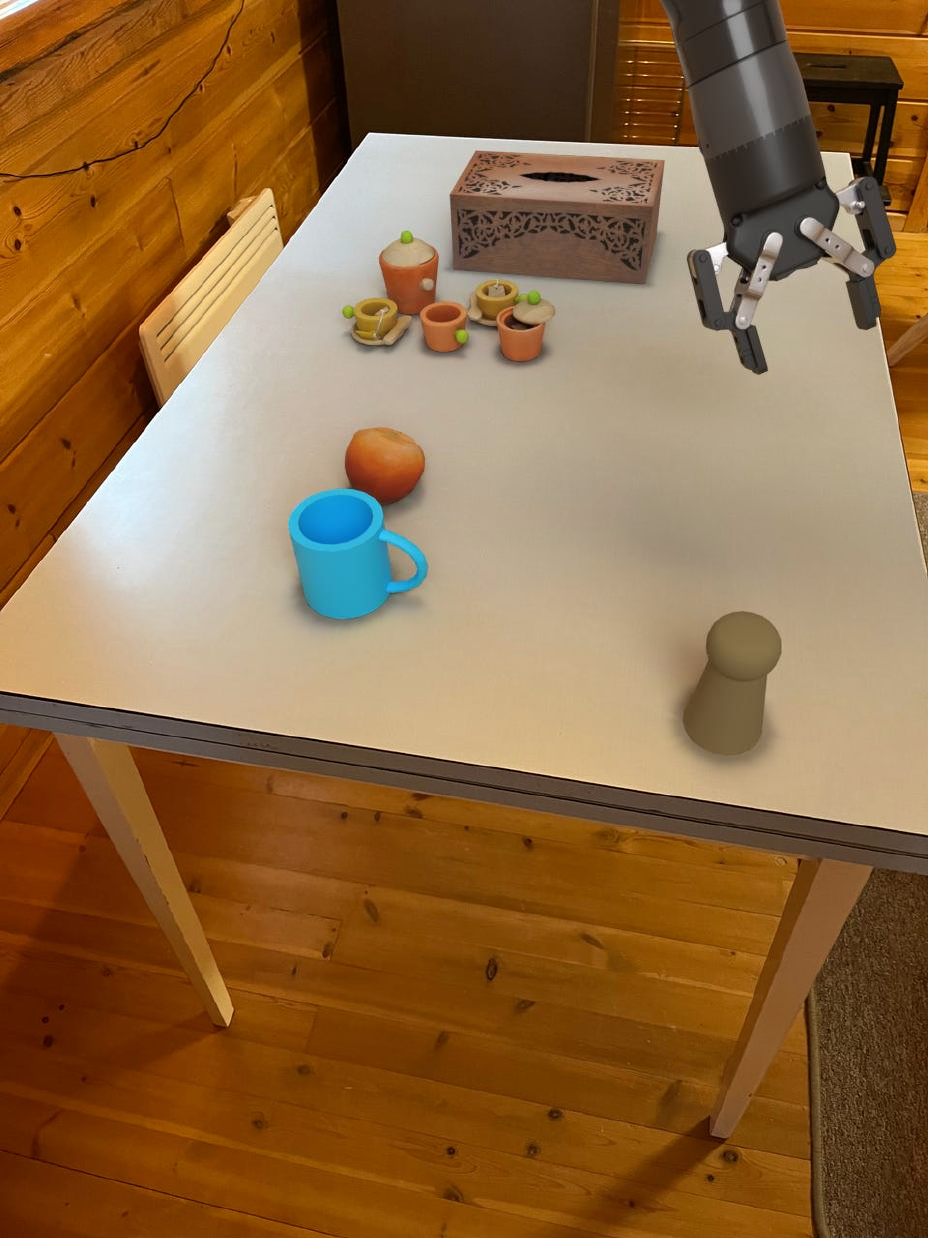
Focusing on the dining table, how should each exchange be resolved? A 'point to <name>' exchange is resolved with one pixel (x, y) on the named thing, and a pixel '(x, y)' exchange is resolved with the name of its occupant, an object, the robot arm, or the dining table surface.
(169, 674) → the dining table surface
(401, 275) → the toy tea set
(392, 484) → the fruit
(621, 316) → the dining table surface
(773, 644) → the cork
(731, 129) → the robot arm
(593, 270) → the tissue box cover
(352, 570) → the mug
